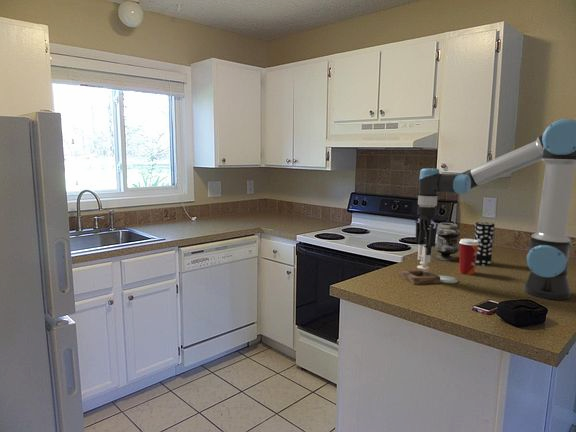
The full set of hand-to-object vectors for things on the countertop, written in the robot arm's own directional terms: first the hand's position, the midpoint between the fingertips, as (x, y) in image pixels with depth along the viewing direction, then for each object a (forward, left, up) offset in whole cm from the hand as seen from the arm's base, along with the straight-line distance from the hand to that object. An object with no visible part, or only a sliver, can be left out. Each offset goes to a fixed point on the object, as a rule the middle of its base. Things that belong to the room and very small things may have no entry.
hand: (423, 260), depth 175 cm
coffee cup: (+6, -25, -8) cm, 27 cm away
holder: (0, +2, -8) cm, 8 cm away
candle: (0, 0, -3) cm, 3 cm away
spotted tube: (+19, -43, -8) cm, 47 cm away
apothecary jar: (+30, -31, -8) cm, 44 cm away
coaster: (-3, -9, -8) cm, 13 cm away
